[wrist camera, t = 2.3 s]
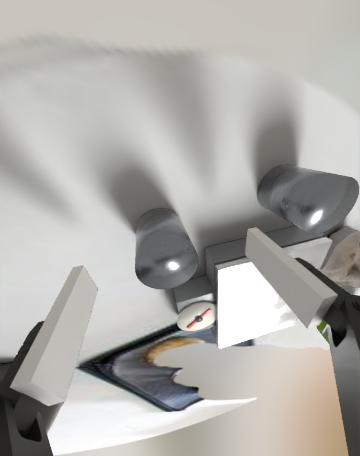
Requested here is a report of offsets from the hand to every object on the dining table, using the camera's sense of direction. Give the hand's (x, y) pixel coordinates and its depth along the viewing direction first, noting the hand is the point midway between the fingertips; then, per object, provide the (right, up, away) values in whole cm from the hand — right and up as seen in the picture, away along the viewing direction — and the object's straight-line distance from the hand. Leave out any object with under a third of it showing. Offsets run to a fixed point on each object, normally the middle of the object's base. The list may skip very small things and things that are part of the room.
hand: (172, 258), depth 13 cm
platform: (+12, -8, +10) cm, 18 cm away
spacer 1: (-2, +2, +5) cm, 5 cm away
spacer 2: (+12, +7, +5) cm, 15 cm away
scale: (+9, -7, +12) cm, 17 cm away
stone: (+27, -2, +15) cm, 31 cm away
